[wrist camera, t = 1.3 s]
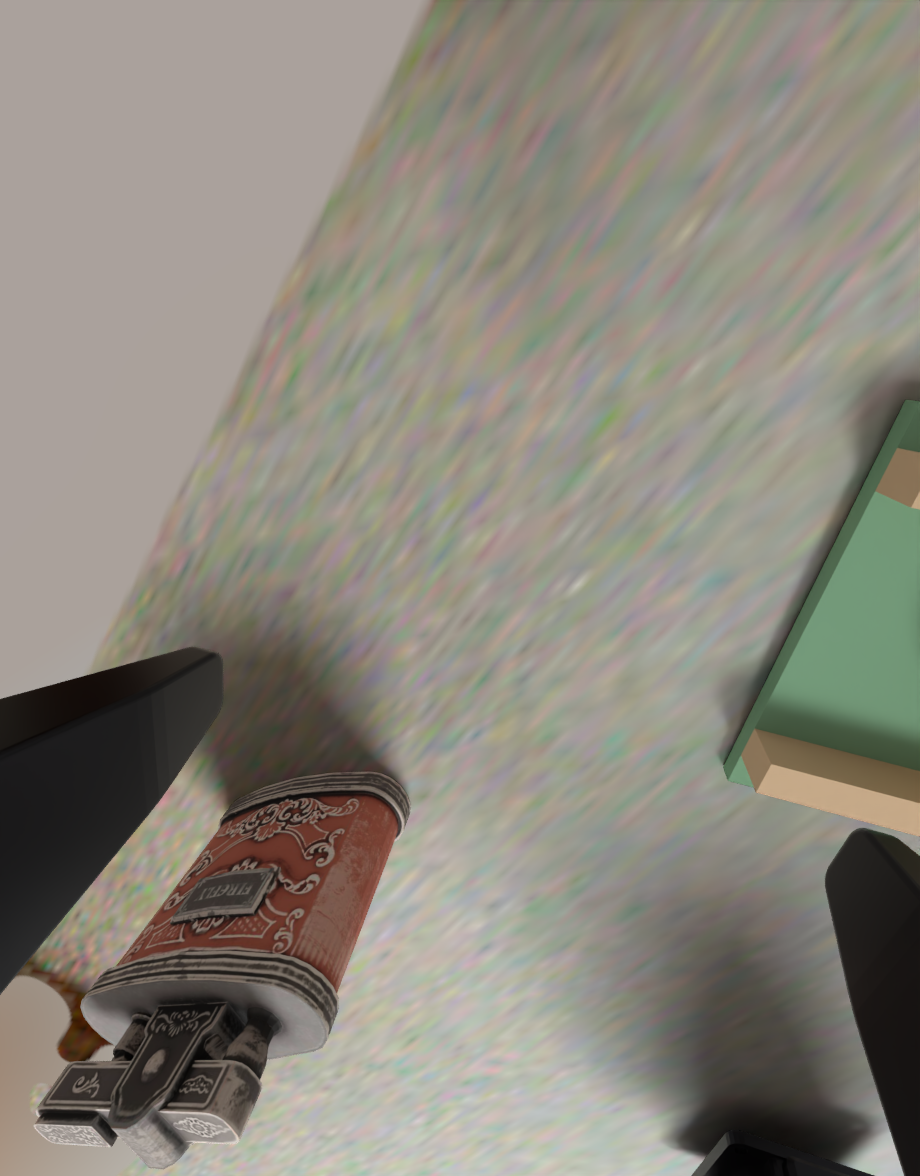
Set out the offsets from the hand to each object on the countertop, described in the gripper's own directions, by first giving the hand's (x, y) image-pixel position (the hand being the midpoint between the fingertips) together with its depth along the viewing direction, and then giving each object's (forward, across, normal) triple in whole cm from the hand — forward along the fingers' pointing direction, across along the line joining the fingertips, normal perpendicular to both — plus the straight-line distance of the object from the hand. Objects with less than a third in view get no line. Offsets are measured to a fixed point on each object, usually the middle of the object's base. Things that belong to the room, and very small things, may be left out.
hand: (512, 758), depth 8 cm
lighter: (+9, +6, +12) cm, 16 cm away
